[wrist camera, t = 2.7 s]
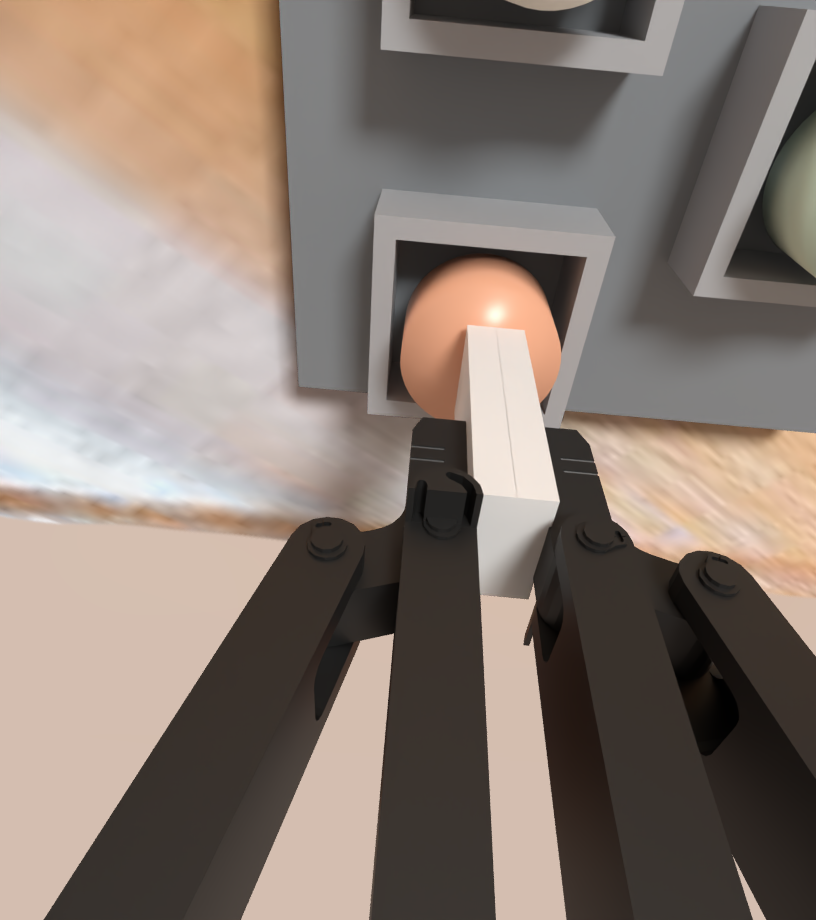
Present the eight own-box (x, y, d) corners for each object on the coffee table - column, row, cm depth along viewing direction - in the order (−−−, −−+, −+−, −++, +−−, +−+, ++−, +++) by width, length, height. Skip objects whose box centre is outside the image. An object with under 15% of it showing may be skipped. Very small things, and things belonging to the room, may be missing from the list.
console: (308, 359, 24) (284, 425, 20) (279, -405, 12) (213, -556, 9) (805, 404, 24) (866, 477, 20) (1232, -310, 12) (1538, -421, 9)
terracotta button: (400, 379, 20) (395, 421, 18) (410, 246, 17) (406, 279, 15) (533, 391, 20) (541, 434, 18) (564, 260, 17) (579, 296, 15)
